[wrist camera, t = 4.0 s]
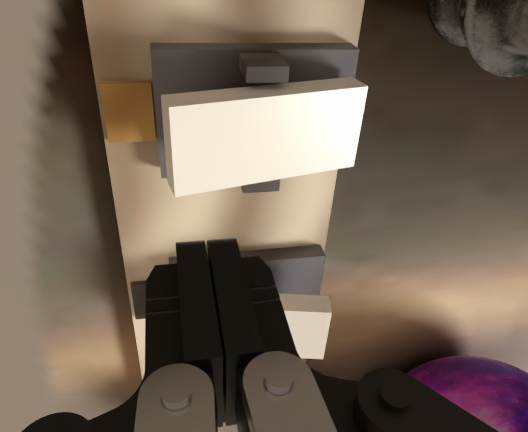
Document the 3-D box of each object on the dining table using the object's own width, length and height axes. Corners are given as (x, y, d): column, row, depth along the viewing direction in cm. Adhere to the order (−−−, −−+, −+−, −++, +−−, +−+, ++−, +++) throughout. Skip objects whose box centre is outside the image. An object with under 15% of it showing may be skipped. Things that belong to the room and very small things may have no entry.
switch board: (360, -31, 19) (399, -16, 16) (292, 422, 38) (304, 468, 35) (80, -40, 17) (64, -24, 14) (154, 443, 36) (154, 495, 33)
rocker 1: (352, 76, 19) (368, 86, 19) (339, 154, 21) (353, 166, 21) (160, 95, 17) (168, 107, 16) (167, 182, 19) (175, 197, 18)
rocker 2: (329, 295, 24) (332, 313, 23) (321, 341, 26) (323, 359, 25) (176, 288, 24) (171, 305, 23) (179, 335, 26) (176, 352, 25)
